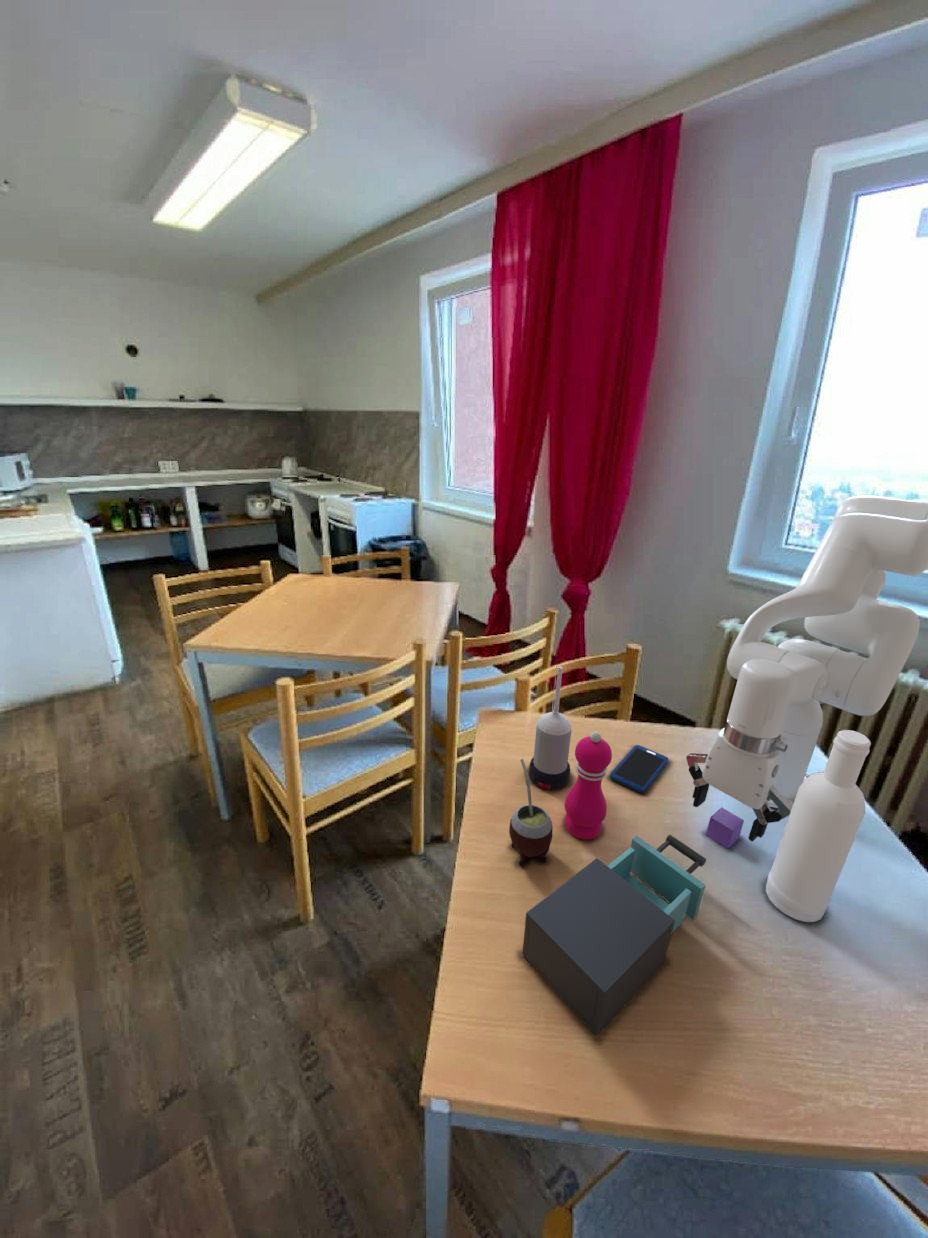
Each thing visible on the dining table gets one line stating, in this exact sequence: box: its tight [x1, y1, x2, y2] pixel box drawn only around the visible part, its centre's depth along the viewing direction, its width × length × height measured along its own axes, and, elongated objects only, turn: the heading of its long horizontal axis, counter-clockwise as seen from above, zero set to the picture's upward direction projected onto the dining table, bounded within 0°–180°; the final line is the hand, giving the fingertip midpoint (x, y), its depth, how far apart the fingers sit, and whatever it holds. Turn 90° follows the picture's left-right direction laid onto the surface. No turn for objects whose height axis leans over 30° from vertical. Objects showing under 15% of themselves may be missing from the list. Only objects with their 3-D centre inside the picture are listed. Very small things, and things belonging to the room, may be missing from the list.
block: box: [705, 806, 745, 849], centre depth 90 cm, size 4×4×4 cm
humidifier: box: [528, 664, 572, 791], centre depth 100 cm, size 8×8×25 cm
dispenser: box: [521, 857, 675, 1037], centre depth 69 cm, size 15×13×8 cm
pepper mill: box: [564, 731, 613, 841], centre depth 89 cm, size 7×7×20 cm
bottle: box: [765, 729, 872, 923], centre depth 74 cm, size 8×8×30 cm
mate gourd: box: [508, 758, 554, 867], centre depth 84 cm, size 8×8×15 cm
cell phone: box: [609, 744, 669, 794], centre depth 107 cm, size 7×14×1 cm, turn 140°
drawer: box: [607, 834, 707, 934], centre depth 76 cm, size 19×11×6 cm, turn 129°
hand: (725, 819), depth 89 cm, fingers open, 9 cm apart
